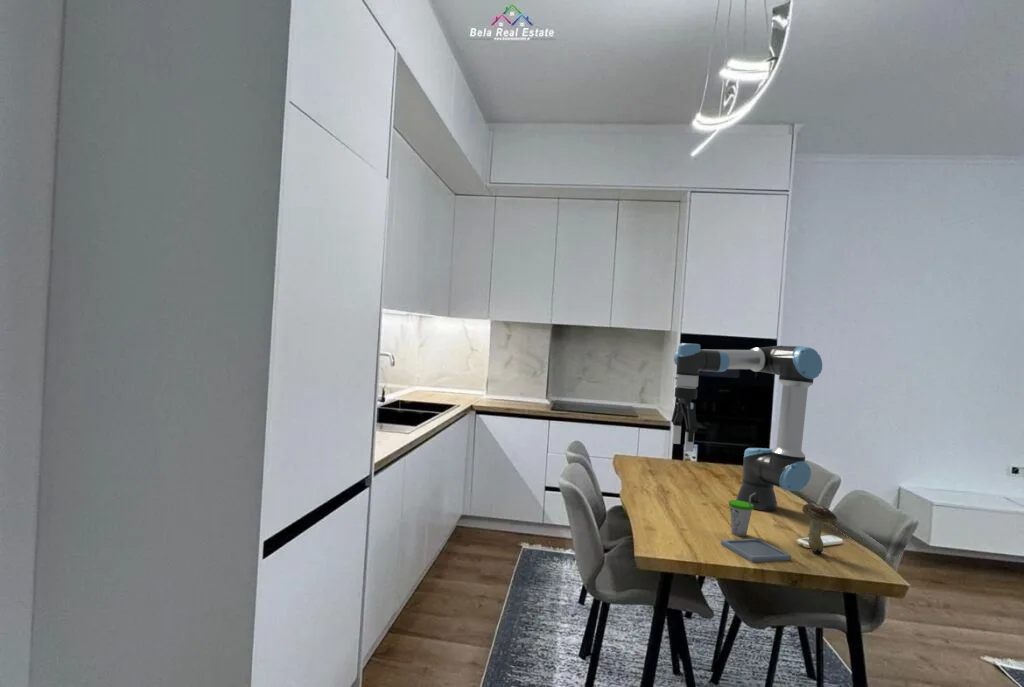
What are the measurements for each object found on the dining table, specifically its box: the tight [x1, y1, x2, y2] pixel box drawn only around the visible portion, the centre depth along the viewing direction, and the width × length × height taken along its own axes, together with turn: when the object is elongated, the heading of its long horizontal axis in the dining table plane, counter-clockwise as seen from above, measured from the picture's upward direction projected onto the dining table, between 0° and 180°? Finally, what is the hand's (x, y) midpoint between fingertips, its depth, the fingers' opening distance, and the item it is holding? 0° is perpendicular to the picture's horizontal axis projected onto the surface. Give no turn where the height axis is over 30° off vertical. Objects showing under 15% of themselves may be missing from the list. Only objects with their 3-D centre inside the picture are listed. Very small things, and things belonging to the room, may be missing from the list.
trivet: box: [720, 538, 792, 563], centre depth 172 cm, size 14×14×1 cm
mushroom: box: [801, 502, 838, 555], centre depth 175 cm, size 9×9×15 cm
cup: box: [728, 493, 756, 537], centre depth 188 cm, size 8×8×15 cm
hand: (682, 447), depth 197 cm, fingers open, 13 cm apart
